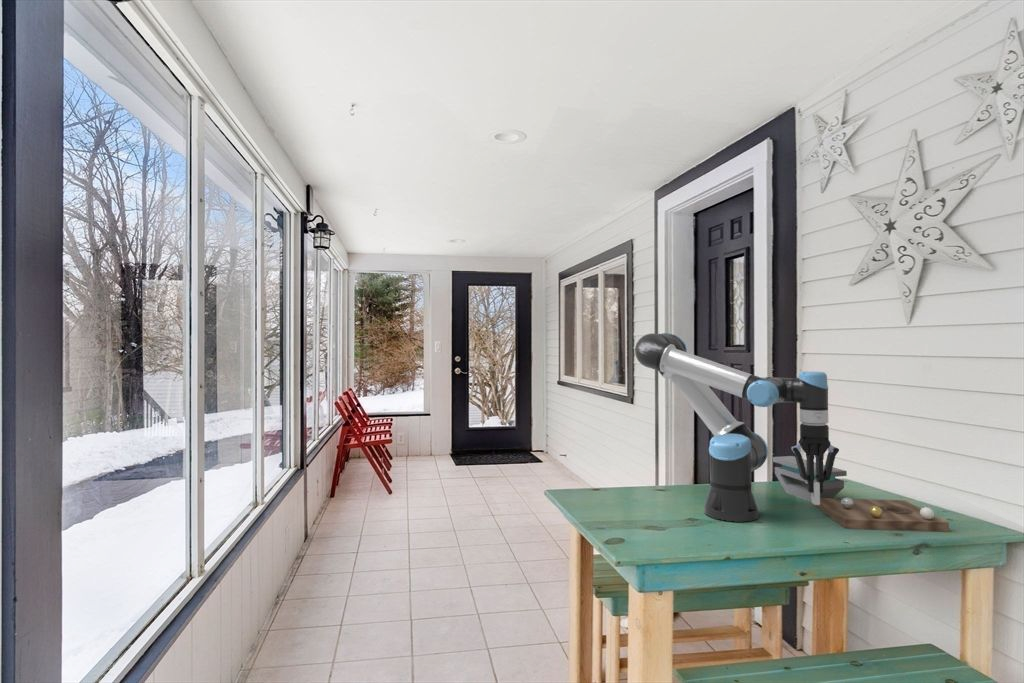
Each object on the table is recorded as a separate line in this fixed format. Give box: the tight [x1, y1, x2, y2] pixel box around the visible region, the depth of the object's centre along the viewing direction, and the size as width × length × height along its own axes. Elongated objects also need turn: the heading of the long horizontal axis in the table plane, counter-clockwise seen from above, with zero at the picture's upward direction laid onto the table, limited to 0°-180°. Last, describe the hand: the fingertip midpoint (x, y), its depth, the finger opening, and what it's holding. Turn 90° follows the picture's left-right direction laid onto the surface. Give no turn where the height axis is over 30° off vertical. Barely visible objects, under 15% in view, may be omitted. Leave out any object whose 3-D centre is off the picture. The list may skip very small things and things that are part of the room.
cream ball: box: [920, 506, 935, 519], centre depth 158 cm, size 3×3×3 cm
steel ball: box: [841, 496, 853, 509], centre depth 168 cm, size 3×3×3 cm
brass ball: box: [869, 506, 883, 518], centre depth 159 cm, size 3×3×3 cm
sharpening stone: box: [772, 455, 848, 502], centre depth 192 cm, size 25×8×11 cm, turn 12°
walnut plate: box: [814, 497, 950, 533], centre depth 167 cm, size 26×22×2 cm
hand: (815, 503), depth 170 cm, fingers closed
